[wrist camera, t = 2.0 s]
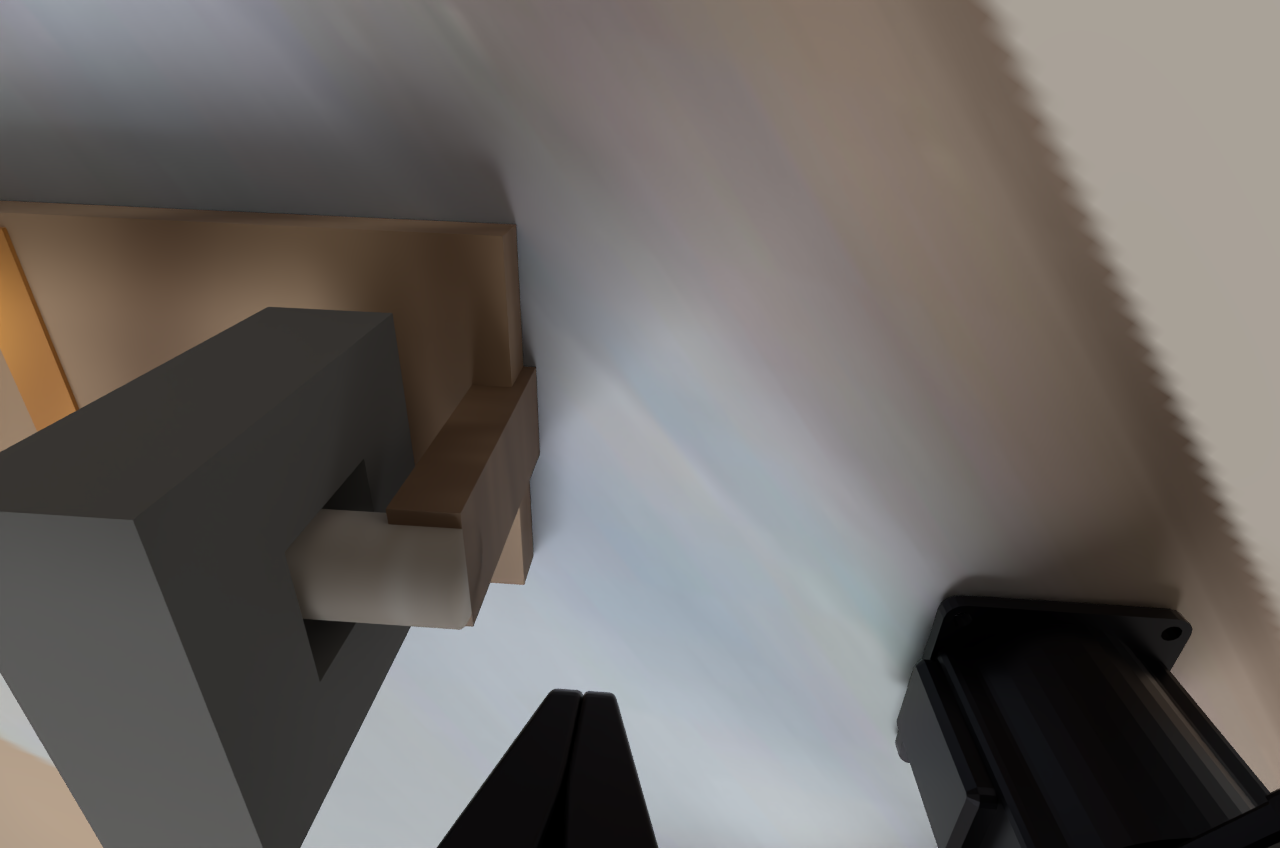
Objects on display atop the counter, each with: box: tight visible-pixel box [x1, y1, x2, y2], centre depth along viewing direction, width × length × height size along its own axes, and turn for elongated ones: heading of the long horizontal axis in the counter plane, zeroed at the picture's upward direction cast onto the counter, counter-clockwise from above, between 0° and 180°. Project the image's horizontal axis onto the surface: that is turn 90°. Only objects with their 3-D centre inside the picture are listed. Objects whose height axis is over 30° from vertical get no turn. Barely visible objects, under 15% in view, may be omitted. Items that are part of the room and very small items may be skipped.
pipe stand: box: [0, 201, 540, 630], centre depth 13 cm, size 16×9×7 cm, turn 88°
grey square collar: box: [0, 307, 415, 848], centre depth 11 cm, size 2×7×7 cm, turn 178°
